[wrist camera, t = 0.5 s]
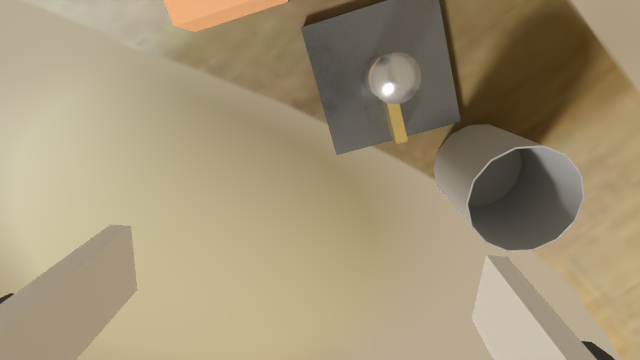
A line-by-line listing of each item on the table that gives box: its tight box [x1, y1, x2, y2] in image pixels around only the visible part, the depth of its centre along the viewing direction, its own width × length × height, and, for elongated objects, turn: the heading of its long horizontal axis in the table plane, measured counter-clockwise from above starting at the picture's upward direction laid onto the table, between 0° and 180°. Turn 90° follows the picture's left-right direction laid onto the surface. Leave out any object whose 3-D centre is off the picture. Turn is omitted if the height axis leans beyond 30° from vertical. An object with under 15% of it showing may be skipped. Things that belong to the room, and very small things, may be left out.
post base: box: [301, 0, 461, 155], centre depth 30 cm, size 12×12×9 cm
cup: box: [433, 124, 585, 252], centre depth 32 cm, size 8×8×10 cm
